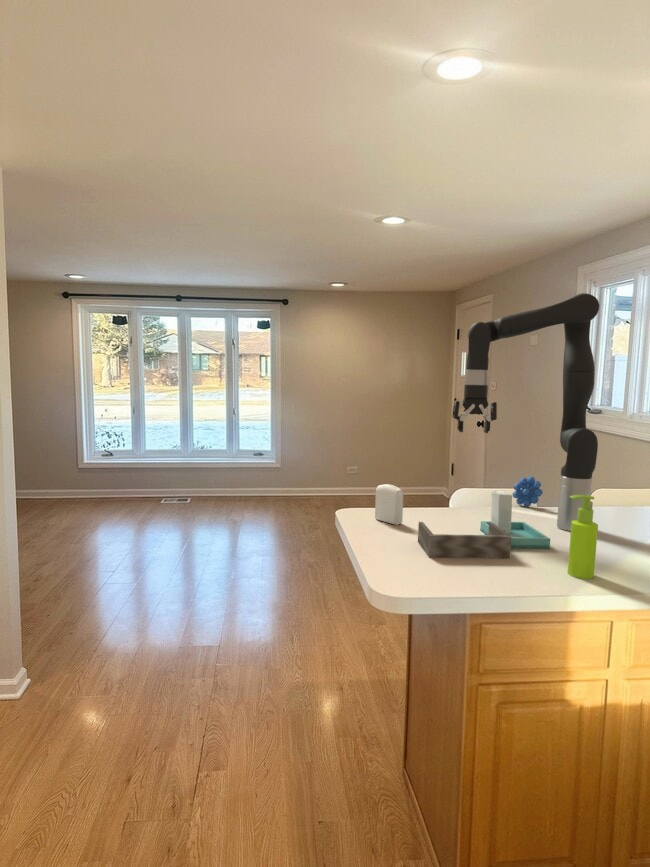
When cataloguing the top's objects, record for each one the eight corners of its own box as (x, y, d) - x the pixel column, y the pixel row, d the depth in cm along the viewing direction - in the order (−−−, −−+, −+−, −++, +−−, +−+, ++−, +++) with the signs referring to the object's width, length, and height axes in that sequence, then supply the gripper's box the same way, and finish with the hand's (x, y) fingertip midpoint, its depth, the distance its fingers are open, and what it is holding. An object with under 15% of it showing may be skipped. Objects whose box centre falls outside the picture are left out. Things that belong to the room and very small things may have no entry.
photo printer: (372, 519, 180) (374, 483, 179) (381, 517, 183) (383, 481, 182) (395, 526, 172) (396, 488, 171) (404, 524, 175) (405, 487, 174)
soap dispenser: (559, 570, 135) (565, 492, 133) (585, 570, 136) (591, 493, 134) (571, 579, 130) (578, 498, 128) (598, 578, 130) (605, 498, 128)
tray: (523, 531, 171) (524, 521, 170) (549, 548, 153) (550, 538, 153) (480, 530, 170) (480, 521, 170) (501, 548, 152) (502, 538, 152)
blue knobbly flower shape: (546, 508, 203) (548, 477, 202) (537, 510, 199) (540, 479, 198) (517, 502, 212) (519, 472, 211) (508, 504, 207) (511, 474, 206)
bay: (491, 542, 157) (493, 523, 156) (509, 558, 144) (511, 536, 143) (417, 541, 156) (418, 521, 155) (428, 557, 142) (430, 535, 142)
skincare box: (511, 534, 163) (514, 495, 162) (497, 534, 163) (499, 495, 162) (503, 528, 169) (505, 490, 168) (489, 528, 169) (491, 490, 168)
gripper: (458, 383, 173) (455, 433, 175) (501, 384, 174) (498, 434, 176) (451, 383, 181) (449, 430, 182) (493, 384, 181) (490, 431, 183)
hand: (473, 432), depth 179 cm, fingers open, 8 cm apart
